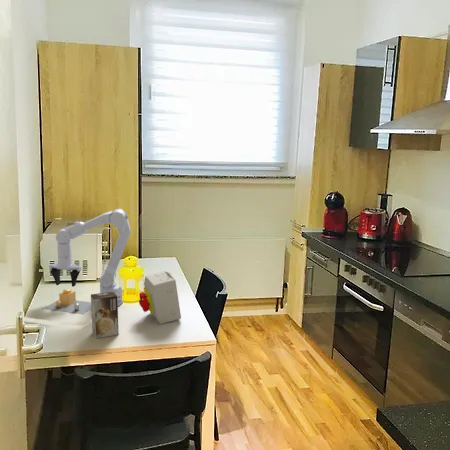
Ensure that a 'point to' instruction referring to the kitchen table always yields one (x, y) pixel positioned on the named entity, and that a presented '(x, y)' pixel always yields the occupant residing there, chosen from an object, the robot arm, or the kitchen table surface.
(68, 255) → the robot arm
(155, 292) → the electrical switch box
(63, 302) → the light orange block
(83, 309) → the terminal board
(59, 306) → the pigtail posts
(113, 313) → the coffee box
